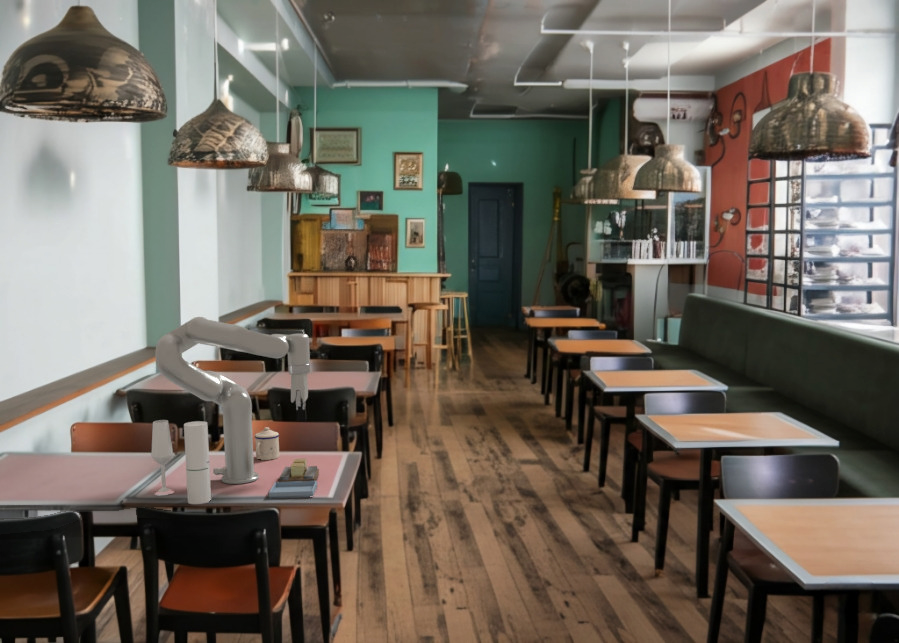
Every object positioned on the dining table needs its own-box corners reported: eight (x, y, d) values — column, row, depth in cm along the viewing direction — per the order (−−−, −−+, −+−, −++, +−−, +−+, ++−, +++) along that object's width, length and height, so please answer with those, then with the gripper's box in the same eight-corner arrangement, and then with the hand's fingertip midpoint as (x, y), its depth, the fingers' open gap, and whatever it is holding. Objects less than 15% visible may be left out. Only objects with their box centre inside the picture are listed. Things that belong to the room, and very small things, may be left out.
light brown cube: (293, 473, 294) (293, 461, 294) (295, 470, 298) (294, 458, 298) (305, 472, 295) (304, 461, 294) (306, 469, 299) (306, 458, 298)
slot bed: (278, 487, 287) (278, 477, 286) (284, 476, 299) (284, 467, 299) (314, 486, 287) (314, 476, 287) (319, 475, 300) (318, 465, 300)
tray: (269, 498, 274) (268, 492, 274) (275, 487, 286) (274, 482, 286) (313, 497, 275) (312, 491, 274) (317, 486, 286) (317, 480, 286)
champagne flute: (157, 490, 286) (153, 419, 284) (177, 490, 286) (174, 419, 284) (150, 496, 279) (146, 423, 277) (171, 495, 279) (167, 423, 277)
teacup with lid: (263, 454, 333) (262, 424, 332) (284, 455, 330) (283, 425, 329) (246, 461, 322) (245, 431, 321) (267, 463, 319) (266, 432, 318)
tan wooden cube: (291, 477, 289) (290, 466, 289) (293, 474, 293) (292, 463, 293) (303, 477, 289) (302, 465, 289) (304, 474, 293) (304, 462, 293)
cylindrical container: (214, 497, 276) (210, 421, 274) (206, 504, 269) (202, 426, 267) (193, 497, 277) (189, 421, 275) (184, 504, 270) (180, 426, 268)
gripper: (291, 366, 308) (293, 416, 309) (285, 372, 293) (287, 425, 294) (312, 365, 308) (314, 416, 310) (307, 372, 293) (309, 424, 295)
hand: (301, 420), depth 302 cm, fingers closed
